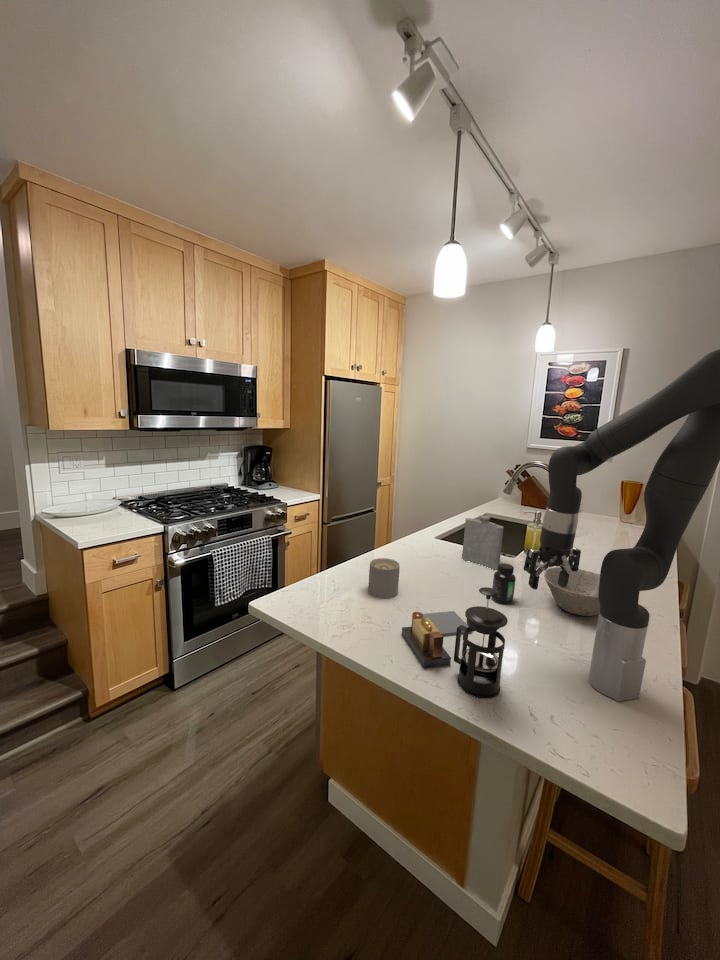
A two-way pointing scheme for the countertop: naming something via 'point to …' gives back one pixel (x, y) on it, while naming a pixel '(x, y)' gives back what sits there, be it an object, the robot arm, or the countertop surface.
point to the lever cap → (423, 631)
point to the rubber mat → (446, 622)
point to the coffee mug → (383, 578)
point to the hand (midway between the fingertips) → (547, 586)
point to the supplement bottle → (504, 584)
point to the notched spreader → (482, 542)
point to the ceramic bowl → (575, 591)
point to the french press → (481, 649)
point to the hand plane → (436, 651)
